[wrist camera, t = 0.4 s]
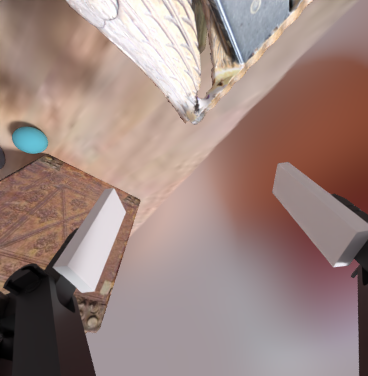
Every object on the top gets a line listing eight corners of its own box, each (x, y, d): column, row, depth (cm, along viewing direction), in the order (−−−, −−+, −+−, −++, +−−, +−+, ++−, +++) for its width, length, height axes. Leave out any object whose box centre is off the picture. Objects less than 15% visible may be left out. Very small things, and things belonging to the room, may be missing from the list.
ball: (20, 125, 35) (-4, 132, 30) (44, 122, 35) (23, 128, 30) (36, 149, 38) (17, 159, 34) (58, 146, 38) (42, 155, 33)
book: (141, 200, 48) (100, 332, 23) (128, 218, 52) (80, 347, 27) (46, 153, 39) (-189, 286, 14) (39, 179, 43) (-152, 319, 18)
